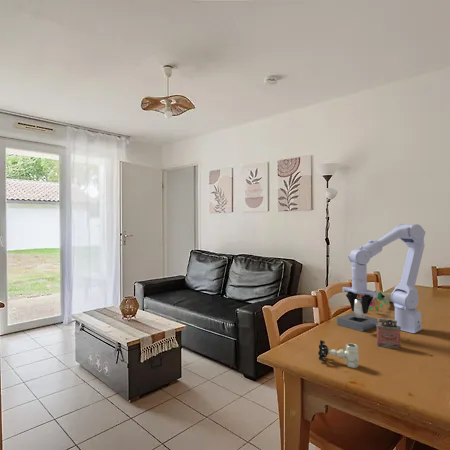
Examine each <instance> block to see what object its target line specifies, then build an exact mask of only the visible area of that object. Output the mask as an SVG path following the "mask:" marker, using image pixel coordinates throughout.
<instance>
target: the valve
mask: <svg viewBox="0 0 450 450" xmlns="http://www.w3.org/2000/svg"><path fill="white" fill-rule="evenodd" d="M318 349H319V351H318V352H317V355H318V356H319V357H318V360H319V361H325V358H327V357H328V355H329V354H330V355H331V356H334V357H335V356H338V357H339V359H341V360H343V359H345V365H346V366H347V367H348V368H353V369H356V368H358V367H359V359H360V354H359V345H357V344H356V343H354V342H353V343H350V342H349V343H346V344H345V349H344V348H339V350H337V349H334V348H333V349H331V350H330V348H329V346H328V345H326V341H325V340H321V339H320V341H319V344H318Z"/></svg>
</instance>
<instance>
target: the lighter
mask: <svg viewBox="0 0 450 450" xmlns="http://www.w3.org/2000/svg"><path fill="white" fill-rule="evenodd" d="M377 319H378V324H376V341H375V342H376V346H377V347H381V348H386V349H387V348H388V349H401V348H402V345H401V330H400V329H401V327H400V326H397V320H395V319H392V318H391V317H390V318H377Z"/></svg>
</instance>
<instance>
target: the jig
mask: <svg viewBox="0 0 450 450" xmlns="http://www.w3.org/2000/svg"><path fill="white" fill-rule="evenodd" d="M378 319H379V318H375V317H371V316H368V315H366V317H365V318H357V317H354V312H351V313H348V314H345V315H342V316H339V317H337V318H336V325H338V326H340V325H341V327H344V328H348V329H352V330H355V331H359V332H361V333H362V332H363V333H364V332H366V331H368V330H370V329H373V328H375V327H376V324H379V322H378ZM376 328H377V327H376Z"/></svg>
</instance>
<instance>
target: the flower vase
mask: <svg viewBox="0 0 450 450" xmlns="http://www.w3.org/2000/svg"><path fill="white" fill-rule="evenodd" d="M375 292H378V297H376V298H373V299H372V301H371V303H370V305H369V309H368V311H371V310H373V309H374V308H375V310H377V312H379V311H380V310H379V307H380V308H381V309H382V308H383V307H384V306H383V305H384V304H385V305H388V304H389V303H388V302H390V303H393V302H392V300H391V293H392V292H390V293H389V292H388V293H385V292H383V291H382V290H381V289H380V290H378V291H377V290H375ZM362 296H364V295H359V296H357V298H361V297H362ZM376 301H378V302H379V306H378V305H376Z"/></svg>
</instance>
